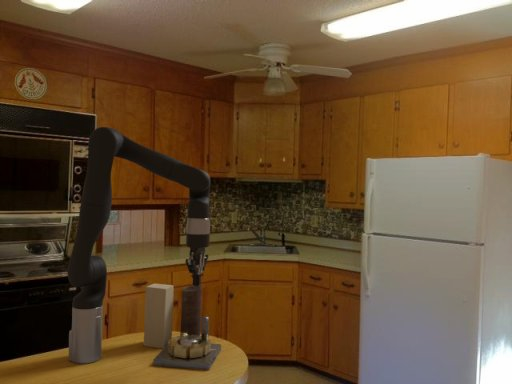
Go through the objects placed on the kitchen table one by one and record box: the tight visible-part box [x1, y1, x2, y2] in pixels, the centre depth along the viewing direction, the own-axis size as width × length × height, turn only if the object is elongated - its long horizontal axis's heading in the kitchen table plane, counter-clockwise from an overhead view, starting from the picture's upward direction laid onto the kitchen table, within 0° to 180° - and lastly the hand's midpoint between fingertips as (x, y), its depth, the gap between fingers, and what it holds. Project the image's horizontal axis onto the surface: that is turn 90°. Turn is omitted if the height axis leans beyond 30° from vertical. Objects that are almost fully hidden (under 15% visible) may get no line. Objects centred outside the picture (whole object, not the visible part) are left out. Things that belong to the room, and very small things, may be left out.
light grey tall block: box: [143, 283, 175, 349], centre depth 168 cm, size 8×7×21 cm
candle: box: [179, 285, 203, 336], centre depth 172 cm, size 8×7×20 cm
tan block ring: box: [167, 315, 212, 358], centre depth 156 cm, size 14×14×10 cm
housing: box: [153, 336, 222, 371], centre depth 156 cm, size 18×18×6 cm
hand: (196, 285), depth 151 cm, fingers closed
